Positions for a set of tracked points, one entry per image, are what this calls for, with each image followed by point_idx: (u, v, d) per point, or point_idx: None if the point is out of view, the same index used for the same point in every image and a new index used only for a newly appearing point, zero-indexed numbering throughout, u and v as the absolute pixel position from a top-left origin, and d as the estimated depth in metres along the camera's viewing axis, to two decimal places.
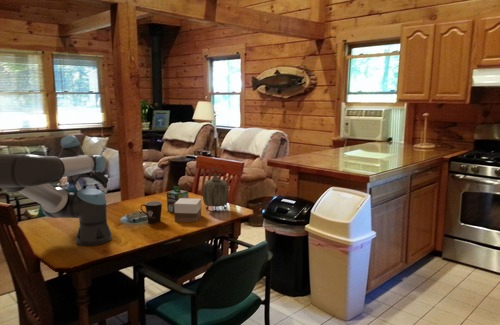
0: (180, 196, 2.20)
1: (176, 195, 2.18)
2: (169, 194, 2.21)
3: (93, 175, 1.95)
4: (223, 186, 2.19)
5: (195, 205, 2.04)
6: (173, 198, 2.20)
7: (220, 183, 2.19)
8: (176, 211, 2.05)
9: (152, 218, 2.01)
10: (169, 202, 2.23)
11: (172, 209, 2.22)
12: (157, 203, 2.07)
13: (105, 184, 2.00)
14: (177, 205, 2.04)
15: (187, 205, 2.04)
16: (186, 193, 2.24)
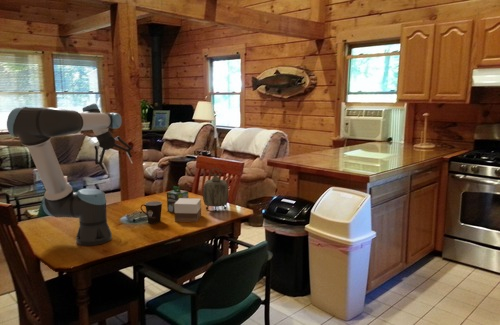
0: (180, 196, 2.20)
1: (176, 195, 2.18)
2: (169, 194, 2.21)
3: None
4: (223, 186, 2.19)
5: (195, 205, 2.04)
6: (173, 198, 2.20)
7: (220, 183, 2.19)
8: (176, 211, 2.05)
9: (152, 218, 2.01)
10: (169, 202, 2.23)
11: (172, 209, 2.22)
12: (157, 203, 2.07)
13: None
14: (177, 205, 2.04)
15: (187, 205, 2.04)
16: (186, 193, 2.24)
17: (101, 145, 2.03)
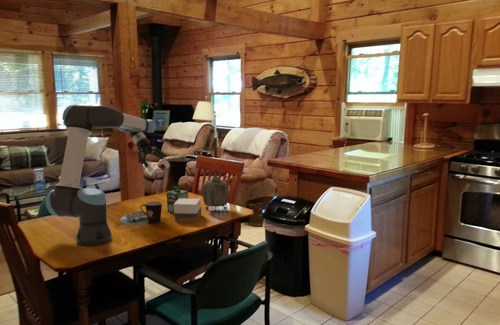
0: (180, 196, 2.20)
1: (176, 195, 2.18)
2: (169, 194, 2.21)
3: None
4: (223, 186, 2.19)
5: (194, 205, 2.04)
6: (173, 198, 2.20)
7: (220, 183, 2.19)
8: (175, 211, 2.05)
9: (152, 218, 2.01)
10: (169, 202, 2.23)
11: (172, 209, 2.22)
12: (157, 203, 2.07)
13: None
14: (176, 205, 2.04)
15: (186, 205, 2.04)
16: (186, 193, 2.24)
17: (143, 148, 2.28)
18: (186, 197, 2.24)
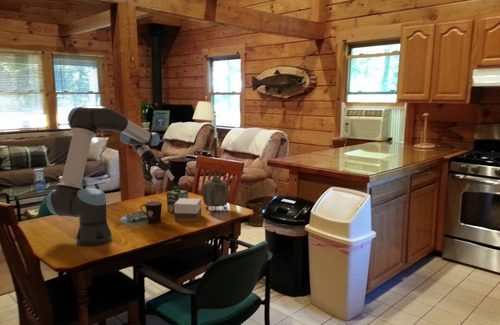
0: (180, 196, 2.20)
1: (176, 195, 2.18)
2: (169, 194, 2.21)
3: None
4: (223, 186, 2.19)
5: (195, 205, 2.03)
6: (173, 198, 2.20)
7: (220, 183, 2.19)
8: (176, 211, 2.05)
9: (152, 218, 2.01)
10: (169, 202, 2.23)
11: (172, 209, 2.22)
12: (157, 203, 2.07)
13: (169, 171, 2.37)
14: (177, 205, 2.04)
15: (187, 205, 2.04)
16: (186, 193, 2.24)
17: (147, 160, 2.29)
18: (186, 197, 2.24)
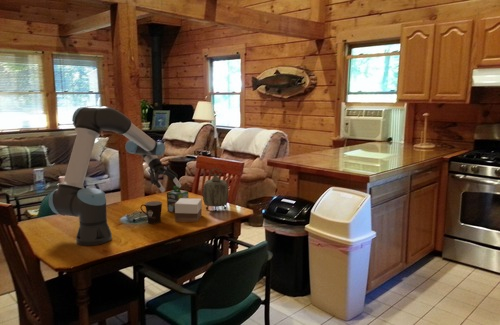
0: (180, 196, 2.20)
1: (176, 195, 2.18)
2: (169, 194, 2.21)
3: None
4: (223, 186, 2.19)
5: (195, 205, 2.04)
6: (173, 198, 2.20)
7: (220, 183, 2.19)
8: (176, 211, 2.05)
9: (152, 218, 2.01)
10: (169, 202, 2.23)
11: (172, 209, 2.22)
12: (157, 203, 2.07)
13: None
14: (177, 205, 2.04)
15: (187, 205, 2.04)
16: (186, 193, 2.24)
17: (155, 168, 2.28)
18: (186, 197, 2.24)
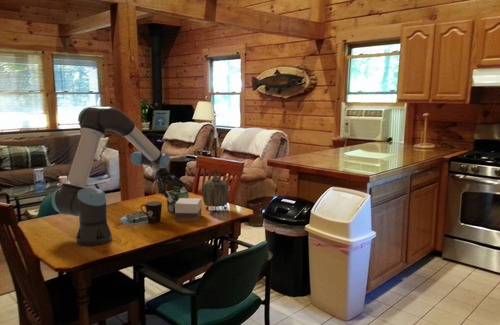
0: (180, 196, 2.20)
1: (176, 195, 2.18)
2: None
3: None
4: (223, 186, 2.19)
5: (196, 205, 2.04)
6: (173, 198, 2.20)
7: (220, 183, 2.19)
8: (177, 211, 2.05)
9: (152, 218, 2.01)
10: (169, 202, 2.22)
11: (172, 209, 2.22)
12: (157, 203, 2.07)
13: (184, 188, 2.32)
14: (178, 205, 2.04)
15: (188, 205, 2.04)
16: (186, 193, 2.24)
17: (162, 178, 2.25)
18: (186, 197, 2.24)
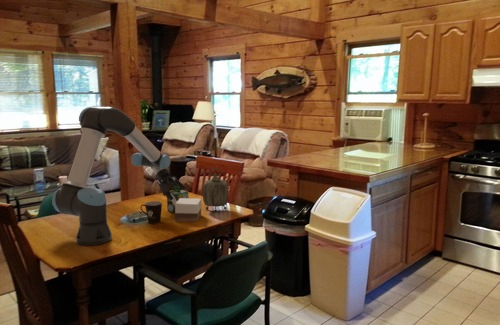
0: (180, 196, 2.20)
1: (176, 195, 2.18)
2: None
3: None
4: (223, 186, 2.19)
5: (196, 205, 2.04)
6: None
7: (220, 183, 2.19)
8: (177, 211, 2.05)
9: (152, 218, 2.01)
10: (169, 202, 2.23)
11: (172, 209, 2.22)
12: (157, 203, 2.07)
13: None
14: (178, 205, 2.04)
15: (188, 205, 2.04)
16: (186, 193, 2.24)
17: (163, 179, 2.24)
18: (186, 197, 2.24)
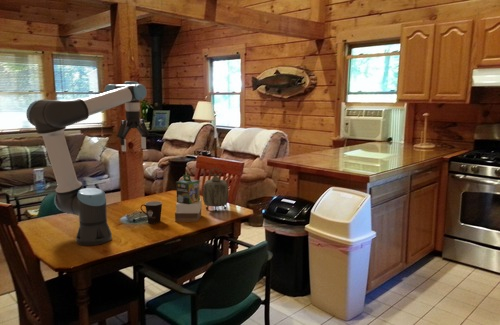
0: (191, 185, 2.03)
1: (186, 184, 2.02)
2: (179, 183, 2.05)
3: None
4: (223, 186, 2.19)
5: (197, 205, 2.04)
6: (183, 187, 2.04)
7: (220, 183, 2.19)
8: (178, 211, 2.05)
9: (152, 218, 2.01)
10: (178, 192, 2.06)
11: (182, 199, 2.05)
12: (157, 203, 2.07)
13: (145, 138, 2.17)
14: (179, 205, 2.04)
15: (189, 205, 2.04)
16: (197, 182, 2.08)
17: (129, 121, 2.05)
18: (197, 187, 2.08)
